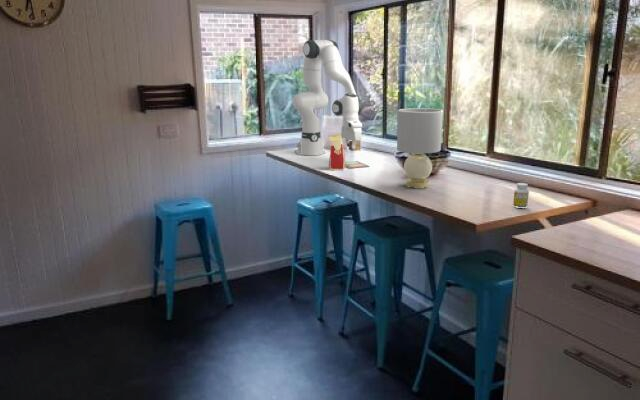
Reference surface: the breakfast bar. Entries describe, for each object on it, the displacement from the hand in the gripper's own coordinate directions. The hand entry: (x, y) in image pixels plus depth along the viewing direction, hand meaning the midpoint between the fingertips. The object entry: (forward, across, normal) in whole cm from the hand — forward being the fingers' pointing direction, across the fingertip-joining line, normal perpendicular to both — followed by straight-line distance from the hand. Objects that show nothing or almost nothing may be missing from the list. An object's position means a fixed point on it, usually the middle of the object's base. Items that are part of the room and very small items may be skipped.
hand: (350, 147), depth 289 cm
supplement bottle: (+11, +109, +25) cm, 112 cm away
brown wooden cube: (+2, 0, +2) cm, 3 cm away
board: (+10, +4, 0) cm, 10 cm away
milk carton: (+10, +9, -13) cm, 18 cm away
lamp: (+10, +61, +7) cm, 62 cm away
